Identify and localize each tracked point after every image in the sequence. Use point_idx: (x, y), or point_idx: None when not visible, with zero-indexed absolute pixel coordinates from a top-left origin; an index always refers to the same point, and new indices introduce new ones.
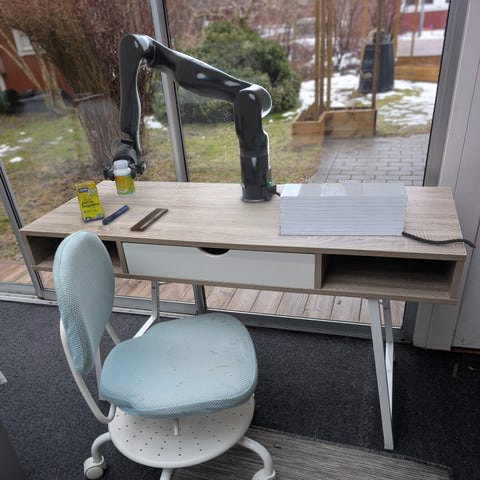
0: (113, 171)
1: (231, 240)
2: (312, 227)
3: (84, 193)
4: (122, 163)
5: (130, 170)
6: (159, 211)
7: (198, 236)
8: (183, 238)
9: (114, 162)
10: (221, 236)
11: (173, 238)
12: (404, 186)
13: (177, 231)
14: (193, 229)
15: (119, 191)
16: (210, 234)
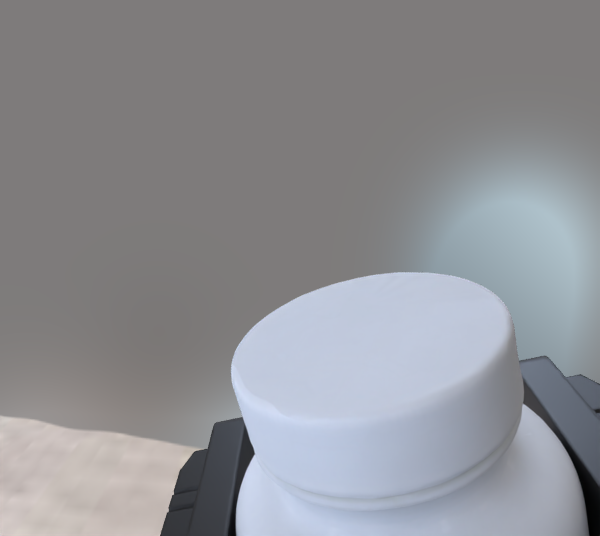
0: (546, 424)
1: (20, 432)
2: None
3: None
4: (312, 293)
5: (247, 470)
6: None
7: (96, 463)
8: (156, 451)
9: (480, 301)
10: (24, 459)
11: (193, 452)
12: None
13: (153, 516)
14: (76, 530)
15: None
16: (46, 476)
